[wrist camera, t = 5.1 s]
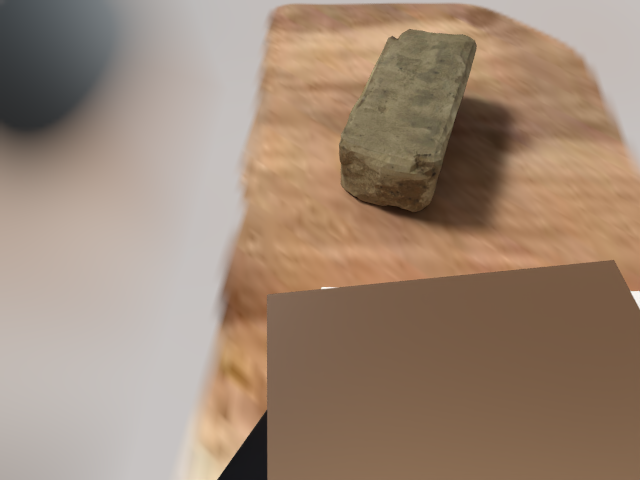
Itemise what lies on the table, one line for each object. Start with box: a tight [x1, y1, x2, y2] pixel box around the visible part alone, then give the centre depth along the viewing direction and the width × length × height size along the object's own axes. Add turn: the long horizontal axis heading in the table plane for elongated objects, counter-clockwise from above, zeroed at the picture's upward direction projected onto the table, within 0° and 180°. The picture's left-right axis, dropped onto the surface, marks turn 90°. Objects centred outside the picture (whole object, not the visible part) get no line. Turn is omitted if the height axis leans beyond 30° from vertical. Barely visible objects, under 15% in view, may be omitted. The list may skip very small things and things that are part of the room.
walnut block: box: [267, 260, 640, 480], centre depth 8 cm, size 4×4×11 cm
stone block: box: [339, 29, 477, 212], centre depth 21 cm, size 6×12×5 cm, turn 159°
